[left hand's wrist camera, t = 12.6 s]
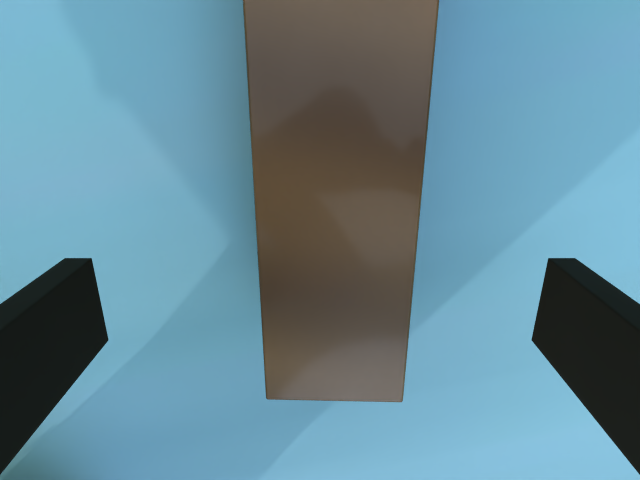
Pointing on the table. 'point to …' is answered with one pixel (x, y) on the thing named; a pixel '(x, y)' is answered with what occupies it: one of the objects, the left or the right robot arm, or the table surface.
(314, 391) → the bar
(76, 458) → the table surface
